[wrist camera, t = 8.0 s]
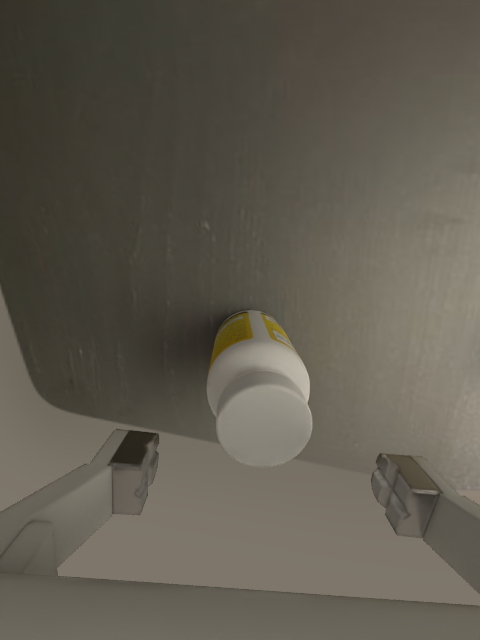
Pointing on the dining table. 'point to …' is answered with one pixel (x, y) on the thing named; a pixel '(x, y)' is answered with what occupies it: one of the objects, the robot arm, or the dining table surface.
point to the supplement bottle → (258, 391)
